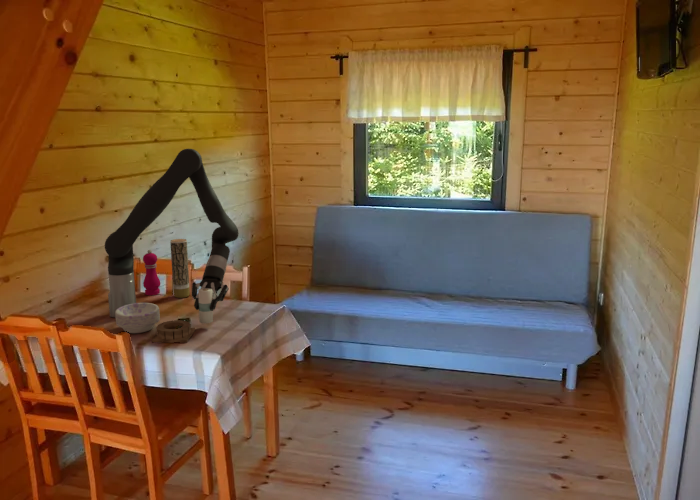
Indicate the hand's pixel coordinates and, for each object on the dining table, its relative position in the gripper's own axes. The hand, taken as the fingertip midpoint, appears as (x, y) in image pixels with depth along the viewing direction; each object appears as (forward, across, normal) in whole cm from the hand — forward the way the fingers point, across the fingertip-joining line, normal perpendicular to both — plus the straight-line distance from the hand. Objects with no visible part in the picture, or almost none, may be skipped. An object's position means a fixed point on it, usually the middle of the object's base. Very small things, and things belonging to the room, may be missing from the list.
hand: (203, 309), depth 212 cm
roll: (+2, 0, +5) cm, 6 cm away
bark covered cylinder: (-21, -26, +33) cm, 47 cm away
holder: (+12, -8, 0) cm, 14 cm away
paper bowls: (+8, -24, +4) cm, 26 cm away
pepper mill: (-22, -40, +34) cm, 57 cm away
